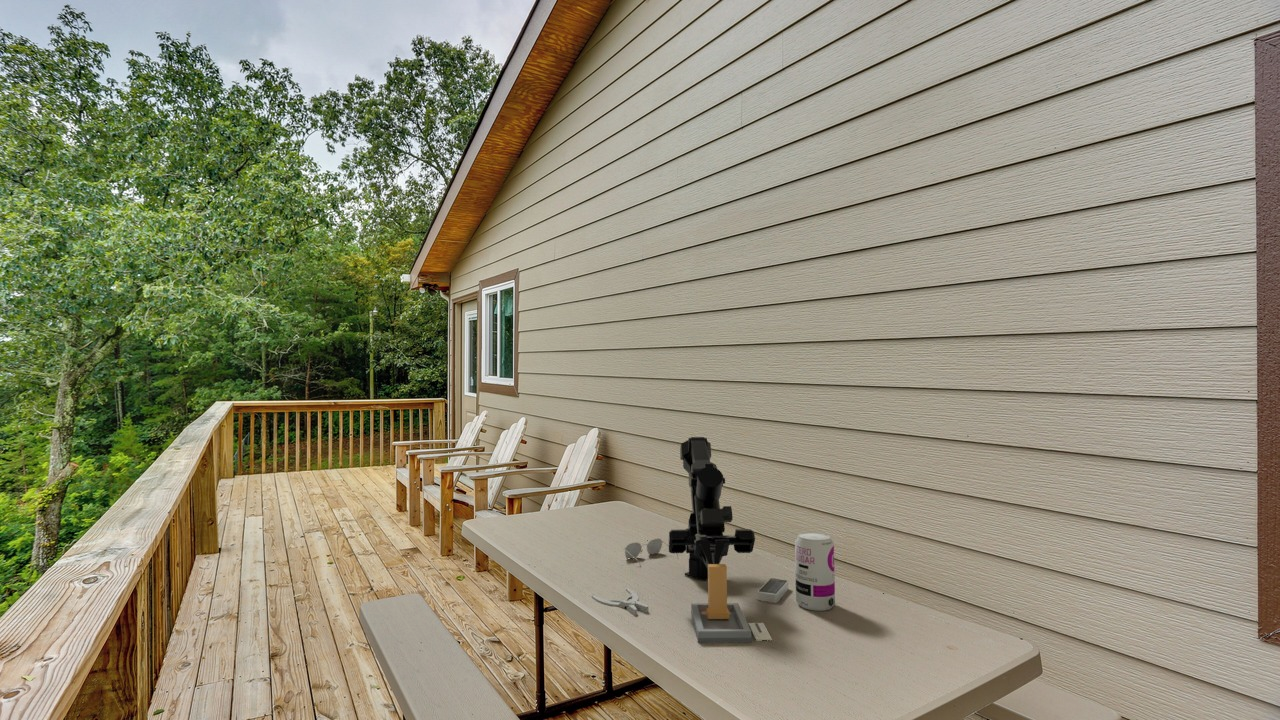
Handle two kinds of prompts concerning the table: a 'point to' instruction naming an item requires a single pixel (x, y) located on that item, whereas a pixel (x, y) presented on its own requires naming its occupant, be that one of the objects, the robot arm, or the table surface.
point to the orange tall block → (717, 592)
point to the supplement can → (815, 571)
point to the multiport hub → (773, 590)
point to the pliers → (626, 603)
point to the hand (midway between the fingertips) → (714, 576)
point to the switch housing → (726, 626)
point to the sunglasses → (635, 549)
